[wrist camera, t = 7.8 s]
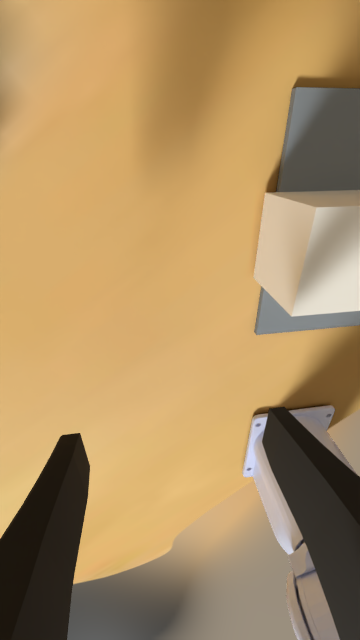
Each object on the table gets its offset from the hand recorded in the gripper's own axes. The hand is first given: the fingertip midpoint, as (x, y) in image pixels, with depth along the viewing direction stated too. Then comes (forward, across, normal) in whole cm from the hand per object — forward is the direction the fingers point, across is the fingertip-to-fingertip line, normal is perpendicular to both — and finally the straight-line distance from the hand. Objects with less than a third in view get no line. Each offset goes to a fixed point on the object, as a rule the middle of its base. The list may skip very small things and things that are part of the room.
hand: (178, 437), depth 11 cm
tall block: (+6, -6, -5) cm, 10 cm away
